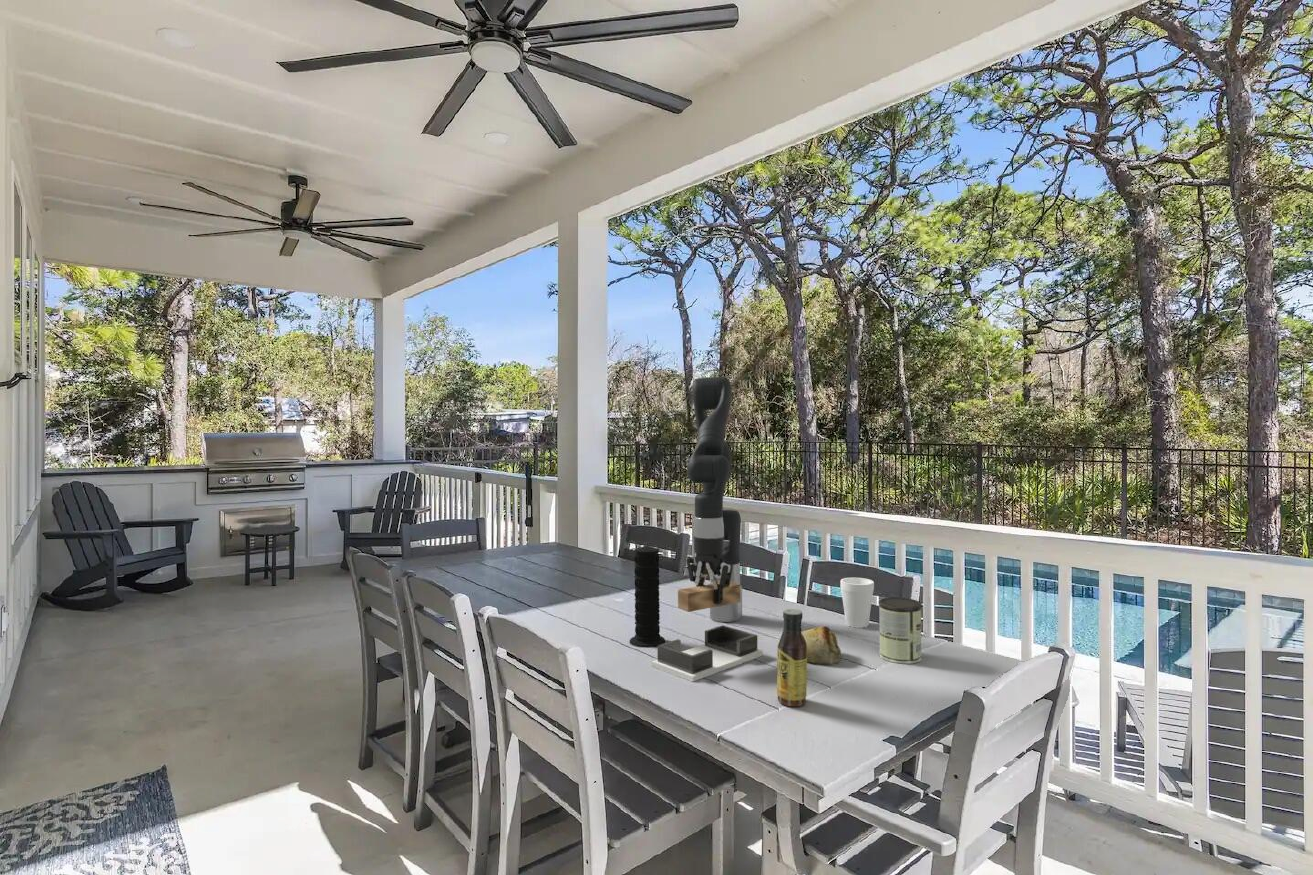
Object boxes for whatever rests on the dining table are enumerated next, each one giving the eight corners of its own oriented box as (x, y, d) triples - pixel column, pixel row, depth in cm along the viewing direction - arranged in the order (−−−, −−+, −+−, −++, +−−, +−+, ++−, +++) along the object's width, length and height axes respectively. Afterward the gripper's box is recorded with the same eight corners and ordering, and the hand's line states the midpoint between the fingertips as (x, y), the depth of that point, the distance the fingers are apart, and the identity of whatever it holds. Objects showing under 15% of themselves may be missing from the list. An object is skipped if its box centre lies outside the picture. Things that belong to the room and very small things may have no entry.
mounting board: (722, 642, 187) (722, 638, 187) (763, 655, 177) (763, 650, 177) (651, 666, 170) (651, 661, 170) (692, 681, 159) (692, 676, 159)
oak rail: (729, 598, 179) (729, 581, 179) (740, 602, 175) (740, 584, 175) (678, 607, 171) (677, 589, 171) (688, 611, 167) (688, 593, 167)
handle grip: (625, 646, 185) (661, 648, 183) (624, 548, 184) (661, 549, 182) (634, 634, 195) (668, 636, 193) (633, 542, 194) (667, 543, 192)
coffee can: (879, 648, 181) (879, 595, 181) (920, 652, 178) (921, 598, 178) (878, 661, 172) (878, 605, 171) (922, 666, 168) (922, 609, 168)
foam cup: (862, 631, 196) (862, 586, 196) (834, 624, 203) (834, 581, 202) (880, 625, 202) (879, 581, 202) (852, 618, 209) (852, 576, 209)
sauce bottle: (773, 697, 150) (773, 606, 150) (801, 695, 151) (801, 605, 150) (781, 709, 144) (781, 615, 143) (811, 708, 144) (810, 614, 144)
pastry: (851, 664, 170) (850, 632, 170) (803, 668, 168) (803, 635, 168) (826, 646, 184) (826, 616, 184) (782, 649, 182) (782, 619, 182)
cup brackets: (722, 639, 186) (722, 625, 186) (757, 650, 177) (757, 635, 177) (657, 661, 170) (657, 645, 169) (692, 674, 161) (692, 657, 161)
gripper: (740, 536, 170) (741, 604, 170) (698, 529, 180) (698, 593, 181) (720, 540, 165) (720, 610, 165) (678, 533, 175) (678, 599, 176)
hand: (709, 601), depth 173 cm, fingers closed on oak rail, 5 cm apart
